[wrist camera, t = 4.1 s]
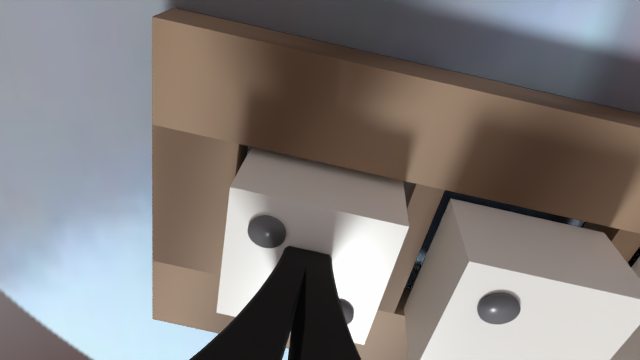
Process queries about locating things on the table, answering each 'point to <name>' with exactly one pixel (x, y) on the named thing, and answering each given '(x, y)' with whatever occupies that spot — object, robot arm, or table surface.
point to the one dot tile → (636, 353)
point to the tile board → (360, 150)
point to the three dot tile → (312, 230)
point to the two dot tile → (519, 290)
